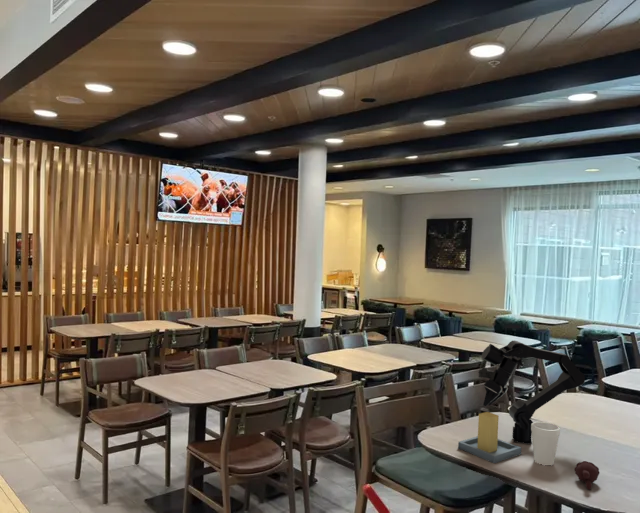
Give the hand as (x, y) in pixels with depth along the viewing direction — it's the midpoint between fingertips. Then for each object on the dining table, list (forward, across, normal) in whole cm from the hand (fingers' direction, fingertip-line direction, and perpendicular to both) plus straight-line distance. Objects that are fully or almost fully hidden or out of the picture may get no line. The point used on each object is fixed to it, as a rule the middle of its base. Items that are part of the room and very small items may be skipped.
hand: (486, 405), depth 212 cm
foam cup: (+6, +9, +27) cm, 29 cm away
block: (+13, +11, +9) cm, 19 cm away
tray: (+13, +9, +10) cm, 19 cm away
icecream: (+3, +18, +41) cm, 45 cm away
